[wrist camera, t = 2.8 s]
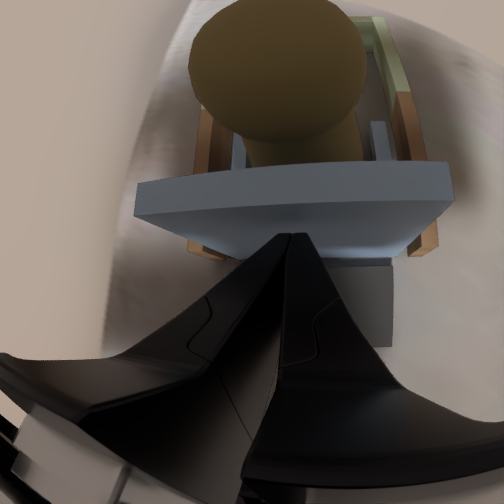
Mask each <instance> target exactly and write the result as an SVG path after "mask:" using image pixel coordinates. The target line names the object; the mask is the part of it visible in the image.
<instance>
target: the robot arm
mask: <svg viewBox="0 0 504 504" xmlns="http://www.w3.org/2000/svg"><path fill="white" fill-rule="evenodd" d="M278 360H279V364H278V377H277V384H276V389H275V392H274V395H273V397H272V399H271V402H270V404H269V406H268V409H267V411H266V413H265V416H264V418H263V420H262V417H263V414H264V410H265V407H266V403H267V400H268V396H269V393H270V389H271V385H272V382H273V378H274V374H275V371H276V367H277V363H278ZM0 390H1V391H2V392H3V393H5V394H6V395H7V396H8V397H9V398H10V399H11V400H12V401H13V402H14V403H16V404H17V405H18V406H19V407H20V408H21V409H22V410H24V411H25V412H26V413H27V415H26V417H25V419H24V420H23V422H22V424H21V426H20V428H19V429H18V428H17V427H16V426H14V425H13V424H12V423H10V422H9V421H8V420H7V419H5V418H4V417H3V416H2V415H1V414H0V504H504V421H502V422H482V421H476V420H472V419H470V418H467V417H464V416H462V415H460V414H458V413H455V412H453V411H451V410H449V409H447V408H445V407H443V406H440V405H438V404H436V403H434V402H432V401H430V400H428V399H426V398H424V397H422V396H420V395H418V394H416V393H414V392H412V391H410V390H408V389H406V388H405V387H404V386H402V385H401V384H400V383H399V382H398V381H397V380H396V379H395V377H394V376H393V375H392V373H391V372H390V371H389V369H388V368H387V367H386V365H385V364H384V362H383V361H382V359H381V358H380V357H379V355H378V354H377V352H376V351H375V350H374V348H373V347H372V345H371V344H370V343H369V341H368V340H367V338H366V337H365V336H364V334H363V333H362V331H361V330H360V328H359V327H358V325H357V324H356V322H355V321H354V319H353V317H352V315H351V314H350V312H349V310H348V308H347V306H346V304H345V302H344V300H343V299H342V297H341V295H340V293H339V291H338V289H337V287H336V285H335V283H334V281H333V279H332V277H331V276H330V274H329V272H328V270H327V268H326V266H325V264H324V262H323V261H322V259H321V257H320V255H319V253H318V251H317V249H316V248H315V246H314V244H313V242H312V240H311V238H310V237H309V235H308V233H306V232H297V233H293V234H292V233H278V234H276V235H275V236H274V237H273V238H272V239H270V240H269V241H268V242H267V243H266V244H264V245H263V246H262V247H261V248H260V249H258V250H257V251H256V252H255V253H254V254H252V255H251V256H250V257H249V258H248V259H246V260H245V261H244V262H243V263H242V264H240V265H239V266H238V267H237V268H236V269H234V270H233V271H232V272H231V273H230V274H228V275H227V276H226V277H225V278H224V279H222V280H221V281H220V282H219V283H218V284H216V285H215V286H214V287H213V288H211V289H210V290H209V291H208V292H207V293H206V294H205V295H203V296H202V297H200V298H199V299H198V300H197V301H196V302H194V303H193V304H192V305H191V306H189V307H188V308H187V309H186V310H184V311H183V312H182V313H180V314H179V315H178V316H176V317H175V318H173V319H172V320H171V321H169V322H168V323H166V324H165V325H164V326H162V327H161V328H159V329H158V330H156V331H155V332H153V333H152V334H150V335H149V336H147V337H146V338H144V339H143V340H142V341H140V342H139V343H137V344H136V345H134V346H133V347H131V348H130V349H128V350H126V351H125V352H123V353H121V354H119V355H116V356H113V357H109V358H104V359H86V360H45V361H44V360H41V361H40V360H39V361H38V360H23V359H19V358H16V357H13V356H11V355H9V354H7V353H0ZM261 420H262V422H261ZM260 424H261V425H260Z"/></svg>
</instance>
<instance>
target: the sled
mask: <svg viewBox="0 0 504 504" xmlns="http://www.w3.org/2000/svg"><path fill="white" fill-rule="evenodd" d="M369 137H370V143H371V150H372V158H373V161H348V162H325V163H307V164H292V165H278V166H267V167H256V168H253V167H252V164H251V162H250V159H249V156H248V154H247V151H246V148H245V146H244V143H243V140H242V138H241V136H240V135H238V134H236V133H234V132H233V147H232V164H231V170H227V171H218V172H210V173H202V174H195V175H187V176H180V177H174V178H167V179H161V180H154V181H148V182H142V183H138V186H137V193H136V200H135V208H134V216H135V217H137V218H139V219H142V220H144V221H147V222H149V223H151V224H154V225H156V226H158V227H161V228H163V229H165V230H168V231H170V232H173V233H175V234H177V235H180V236H182V237H184V238H187V239H189V240H192V241H194V242H196V243H199V244H201V245H204V246H206V247H208V248H211V249H213V250H216V251H218V252H220V253H223V254H225V255H228V256H230V257H233V258H235V259H248V258H249V257H250V256H251V255H252V254H254V253H255V252H256V251H257V250H258V249H260V248H261V247H262V246H263V245H264V244H266V243H267V242H268V241H269V240H270V239H272V238H273V237H274V236H275V235H276V234H278V233H292V234H293V233H297V232H306V233H308V235H309V237H310V238H311V240H312V242H313V244H314V246H315V248H316V249H317V251H318V253H319V255H320V257H321V258H356V257H396V256H397V255H398V254H399V253H400V252H401V251H402V250H404V249H405V248H406V247H407V246H408V245H409V244H410V243H411V242H412V241H413V240H415V239H416V238H417V237H418V236H419V235H420V234H421V233H422V232H423V231H424V230H425V229H426V228H427V227H428V226H429V225H431V224H432V223H433V222H434V221H435V220H436V219H437V218H438V217H439V216H440V215H441V214H442V213H443V212H444V211H445V210H446V209H447V208H448V207H449V206H450V205H451V204H452V203H453V202H454V201H455V199H454V193H453V187H452V181H451V176H450V170H449V165H448V162H442V161H392V159H391V152H390V146H389V140H388V135H387V129H386V124H385V121H370V132H369Z"/></svg>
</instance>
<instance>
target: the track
mask: <svg viewBox="0 0 504 504" xmlns="http://www.w3.org/2000/svg"><path fill="white" fill-rule="evenodd" d="M348 18H349V19H350V20H351V21H352V22H353V23H354V24H355V25H356V27H357V28H358V30H359V33H360V35H361V38H362V40H363V44H364V48H365V51H366V52H373V53H374V56H375V60H376V63H377V66H378V70H379V74H380V77H381V81H382V85H383V89H384V93H385V97H386V101H387V105H388V110H389V114H390V119H391V124H392V129H393V134H394V139H395V144H396V150H397V156H398V161H428V160H427V155H426V150H425V145H424V141H423V136H422V132H421V128H420V124H419V120H418V116H417V112H416V108H415V105H414V101H413V97H412V94H411V91H410V87H409V84H408V81H407V78H406V75H405V72H404V69H403V66H402V63H401V60H400V57H399V55H398V52H397V49H396V47H395V44H394V41H393V39H392V36H391V34H390V31H389V29H388V27H387V24H386V22H385V20H384V17H348ZM231 145H232V131H231V130H229V129H227V128H225V127H224V126H222V125H220V124H219V123H217V122H216V121H215V119H214V118H213V117H212V116H211V115H210V113H209V112H208V111H207V110H206V109H205V107H204V106H203V105H202V104H201V112H200V119H199V127H198V135H197V144H196V153H195V162H194V172H193V175H195V174H202V173H210V172H218V171H227V170H230V162H231ZM438 246H439V243H438V231H437V221H436V220H435V221H434V222H433V223H432V224H431V225H429V226H428V227H427V228H426V229H425V230H424V231H423V232H422V233H421V234H420V235H419V236H418V237H417V238H416V239H415V240H413V241H412V242H411V243H410V244H409V245H408V246H407V248H408V257H416V256H423V255H425V254H427V253H428V252H430V251H432V250H433V249H435V248H436V247H438ZM187 251H188V252H191V253H193V254H196V255H199V256H202V257H205V258H208V259H211V260H226V255H225V254H223V253H220V252H218V251H216V250H213V249H211V248H208V247H206V246H204V245H201V244H199V243H196V242H194V241H192V240H189V239H188V247H187Z"/></svg>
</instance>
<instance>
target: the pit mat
mask: <svg viewBox="0 0 504 504" xmlns="http://www.w3.org/2000/svg"><path fill="white" fill-rule="evenodd" d="M326 268H327V270H328V272H329V274H330V276H331V277H332V279H333V281H334V283H335V285H336V287H337V289H338V291H339V293H340V295H341V297H342V299H343V300H344V302H345V304H346V306H347V308H348V310H349V312H350V314H351V315H352V317H353V319H354V321H355V322H356V324H357V325H358V327H359V328H360V330H361V331H362V333H363V334H364V336H365V337H366V338H367V340H368V341H369V343H370V344H371V345H372V347H392V336H393V266H366V267H326Z"/></svg>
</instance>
